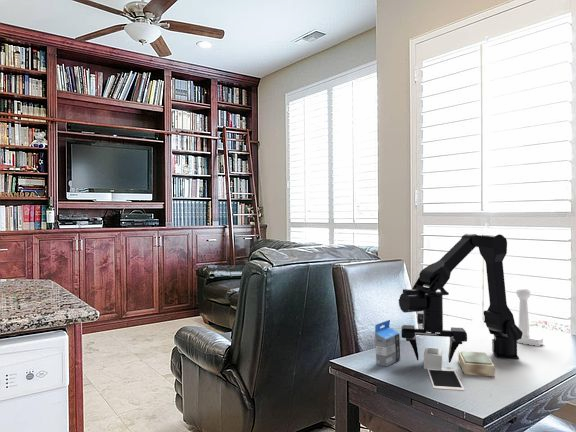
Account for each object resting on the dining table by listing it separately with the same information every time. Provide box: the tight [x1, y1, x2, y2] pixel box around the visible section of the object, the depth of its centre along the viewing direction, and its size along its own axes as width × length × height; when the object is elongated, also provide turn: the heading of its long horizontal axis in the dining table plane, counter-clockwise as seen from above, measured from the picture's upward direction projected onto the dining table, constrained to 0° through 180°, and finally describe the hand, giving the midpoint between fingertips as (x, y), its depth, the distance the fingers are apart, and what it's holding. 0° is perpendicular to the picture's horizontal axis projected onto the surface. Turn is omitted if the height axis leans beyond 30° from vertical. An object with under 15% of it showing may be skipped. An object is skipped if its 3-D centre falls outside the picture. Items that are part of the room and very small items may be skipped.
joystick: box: [515, 286, 544, 347], centre depth 155 cm, size 11×8×20 cm
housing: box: [423, 346, 443, 370], centre depth 131 cm, size 5×8×5 cm, turn 159°
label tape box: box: [374, 319, 401, 367], centre depth 134 cm, size 9×4×12 cm, turn 137°
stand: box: [458, 350, 496, 377], centre depth 128 cm, size 8×12×3 cm, turn 166°
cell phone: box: [426, 367, 465, 392], centre depth 120 cm, size 8×16×1 cm, turn 168°
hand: (433, 361), depth 131 cm, fingers open, 9 cm apart
